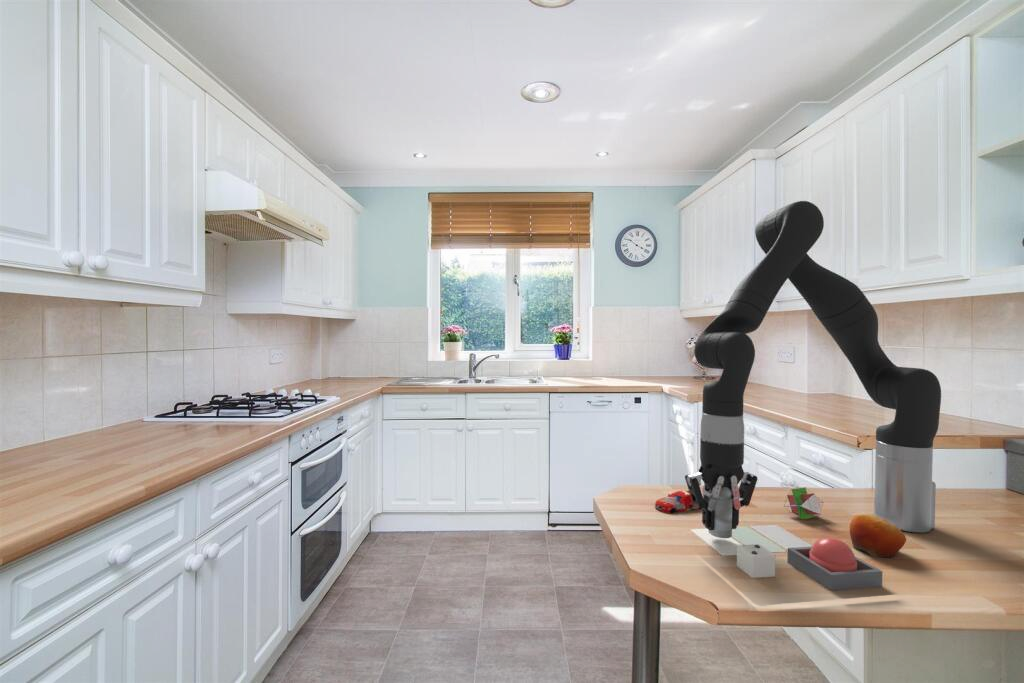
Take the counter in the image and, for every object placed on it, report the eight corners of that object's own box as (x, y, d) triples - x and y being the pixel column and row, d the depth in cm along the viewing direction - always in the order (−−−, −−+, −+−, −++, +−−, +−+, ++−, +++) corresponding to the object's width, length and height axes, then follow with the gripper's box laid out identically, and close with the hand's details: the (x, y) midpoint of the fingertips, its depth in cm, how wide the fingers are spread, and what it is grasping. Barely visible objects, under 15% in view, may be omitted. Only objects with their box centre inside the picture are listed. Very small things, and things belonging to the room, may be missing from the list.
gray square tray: (833, 562, 81) (834, 545, 81) (882, 590, 72) (882, 571, 72) (787, 565, 79) (787, 548, 79) (830, 594, 71) (831, 575, 70)
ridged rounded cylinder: (723, 528, 90) (724, 479, 89) (736, 537, 86) (737, 486, 86) (704, 529, 89) (705, 480, 89) (716, 538, 85) (717, 486, 85)
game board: (775, 526, 96) (775, 523, 96) (822, 553, 84) (822, 550, 84) (687, 531, 93) (687, 528, 93) (723, 560, 81) (723, 556, 81)
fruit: (831, 541, 86) (847, 502, 87) (854, 557, 88) (869, 518, 90) (879, 561, 78) (895, 517, 80) (903, 577, 81) (918, 535, 82)
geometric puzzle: (770, 502, 104) (790, 480, 99) (792, 499, 106) (813, 477, 101) (793, 532, 98) (815, 510, 94) (816, 527, 101) (838, 506, 96)
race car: (664, 518, 100) (664, 500, 100) (649, 509, 105) (649, 492, 105) (714, 511, 104) (714, 494, 104) (697, 503, 109) (697, 486, 109)
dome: (833, 564, 79) (834, 529, 79) (867, 584, 73) (868, 546, 73) (799, 566, 78) (800, 531, 78) (831, 587, 72) (832, 548, 72)
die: (758, 567, 79) (758, 542, 79) (774, 579, 75) (775, 553, 75) (736, 568, 78) (737, 543, 78) (752, 581, 74) (752, 554, 74)
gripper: (743, 432, 92) (741, 518, 92) (676, 434, 90) (675, 521, 90) (770, 441, 84) (768, 534, 85) (697, 443, 82) (695, 538, 83)
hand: (720, 527), depth 87 cm, fingers closed on ridged rounded cylinder, 4 cm apart
